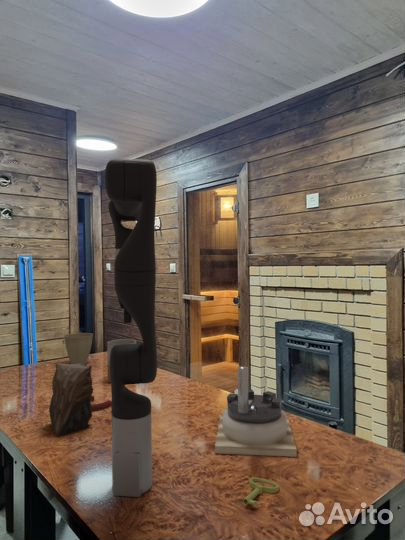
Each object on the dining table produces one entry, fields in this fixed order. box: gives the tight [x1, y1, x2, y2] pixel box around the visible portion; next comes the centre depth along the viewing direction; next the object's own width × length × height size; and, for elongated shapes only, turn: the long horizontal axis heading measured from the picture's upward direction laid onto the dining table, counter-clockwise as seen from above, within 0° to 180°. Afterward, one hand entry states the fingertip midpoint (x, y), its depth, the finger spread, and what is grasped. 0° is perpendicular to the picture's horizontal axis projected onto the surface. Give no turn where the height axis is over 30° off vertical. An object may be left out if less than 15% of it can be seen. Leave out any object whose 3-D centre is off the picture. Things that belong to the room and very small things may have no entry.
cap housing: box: [222, 407, 288, 445], centre depth 118 cm, size 19×19×5 cm
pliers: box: [90, 395, 112, 412], centre depth 142 cm, size 12×21×3 cm, turn 146°
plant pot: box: [63, 332, 94, 366], centre depth 212 cm, size 15×15×16 cm
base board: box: [214, 415, 298, 458], centre depth 118 cm, size 22×22×2 cm
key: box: [242, 476, 281, 506], centre depth 89 cm, size 7×12×2 cm, turn 165°
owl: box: [48, 362, 94, 438], centre depth 129 cm, size 13×13×20 cm
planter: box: [106, 338, 137, 383], centre depth 181 cm, size 13×13×18 cm
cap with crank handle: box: [226, 365, 283, 424], centre depth 117 cm, size 16×21×17 cm
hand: (128, 322), depth 117 cm, fingers closed
